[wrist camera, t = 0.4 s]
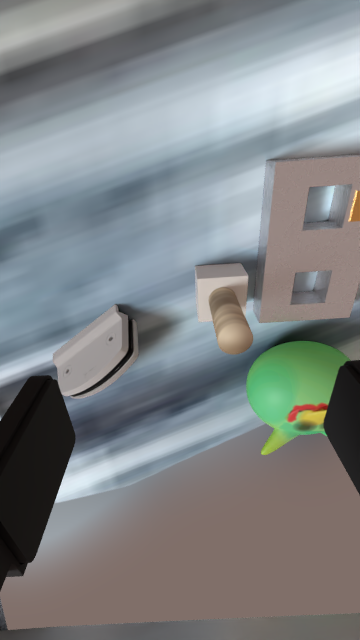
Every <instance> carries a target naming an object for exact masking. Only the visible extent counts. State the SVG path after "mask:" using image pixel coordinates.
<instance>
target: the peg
mask: <svg viewBox="0 0 360 640" xmlns="http://www.w3.org/2000/svg"><path fill="white" fill-rule="evenodd" d="M208 301H209V306H210V311H211V315H212V319H213V324H214V328H215V332H216V337H217V341H218V345H219V347H220V349H221V350H222V351H224V352H225V353H228V354H239V353H242V352H244V351H246V350H247V349H248V348H249V347H250V346H251V344H252V342H253V335H252V332H251V330H250V328H249V325H248V323H247V320H246V318H245V316H244V313H243V311H242V309H241V306H240V304H239V302H238V299H237V297H236V295H235V293H234V291H233V290H231V289H229V288H226V287H221V288H218V289H215V290H214V291H213V292H212V293H211V294H210V296H209V300H208Z"/></svg>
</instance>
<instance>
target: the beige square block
mask: <svg viewBox="0 0 360 640" xmlns="http://www.w3.org/2000/svg"><path fill="white" fill-rule="evenodd" d="M195 283H196V308H197V314H198V321H199V322H208V321H213V319H212V315H211V311H210V306H209V301H208V300H209V296H210V294H211V293H212V292H213V291H214V290H215V289H218V288H221V287H226V288H229V289H231V290H233V291H234V293H235V295H236V297H237V299H238V302H239V304H240V306H241V309H242V311H243V313H244V316H245V315H246V301H247V287H248V274H247V273H246V271H245V269H244V268H243V266H242V264H241V263H233V264H217V265H202V266H195Z"/></svg>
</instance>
